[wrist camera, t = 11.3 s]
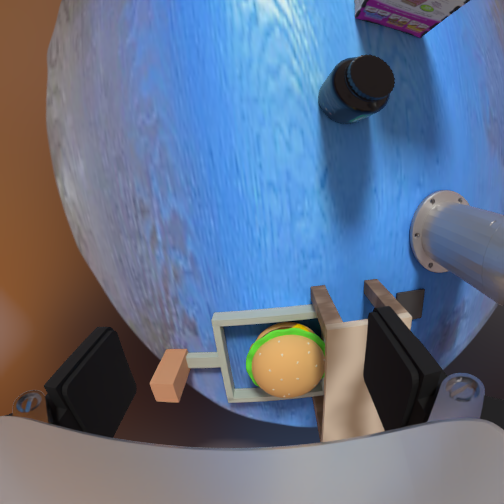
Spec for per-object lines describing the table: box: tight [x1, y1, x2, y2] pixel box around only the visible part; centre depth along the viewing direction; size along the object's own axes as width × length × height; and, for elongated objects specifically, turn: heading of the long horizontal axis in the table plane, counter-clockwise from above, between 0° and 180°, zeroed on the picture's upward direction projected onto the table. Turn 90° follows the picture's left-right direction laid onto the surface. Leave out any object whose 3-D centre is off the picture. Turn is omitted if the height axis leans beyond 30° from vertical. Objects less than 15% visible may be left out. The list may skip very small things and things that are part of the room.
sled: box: [150, 304, 325, 403], centre depth 41 cm, size 26×16×9 cm, turn 96°
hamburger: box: [246, 322, 325, 398], centre depth 40 cm, size 12×12×9 cm
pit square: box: [396, 289, 425, 319], centre depth 42 cm, size 5×5×1 cm
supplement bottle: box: [318, 55, 395, 124], centre depth 29 cm, size 7×7×12 cm
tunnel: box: [311, 279, 412, 442], centre depth 38 cm, size 10×22×12 cm, turn 6°
